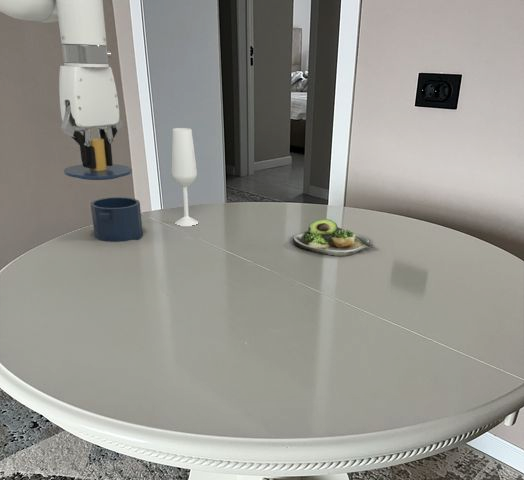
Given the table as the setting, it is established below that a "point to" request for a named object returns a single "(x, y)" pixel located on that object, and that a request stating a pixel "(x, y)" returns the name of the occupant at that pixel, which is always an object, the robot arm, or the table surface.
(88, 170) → the lid
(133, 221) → the pot
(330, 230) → the salad plate
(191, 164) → the champagne flute
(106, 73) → the robot arm
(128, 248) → the table surface
